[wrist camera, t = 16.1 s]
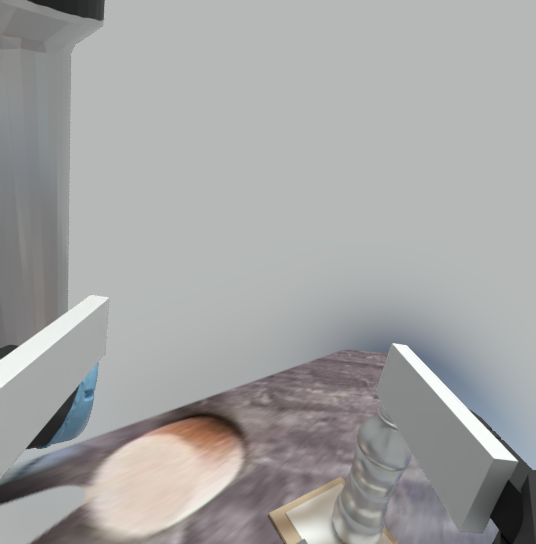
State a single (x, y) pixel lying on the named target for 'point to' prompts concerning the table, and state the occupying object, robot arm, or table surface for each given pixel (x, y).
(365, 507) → the plastic bottle
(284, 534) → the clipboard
